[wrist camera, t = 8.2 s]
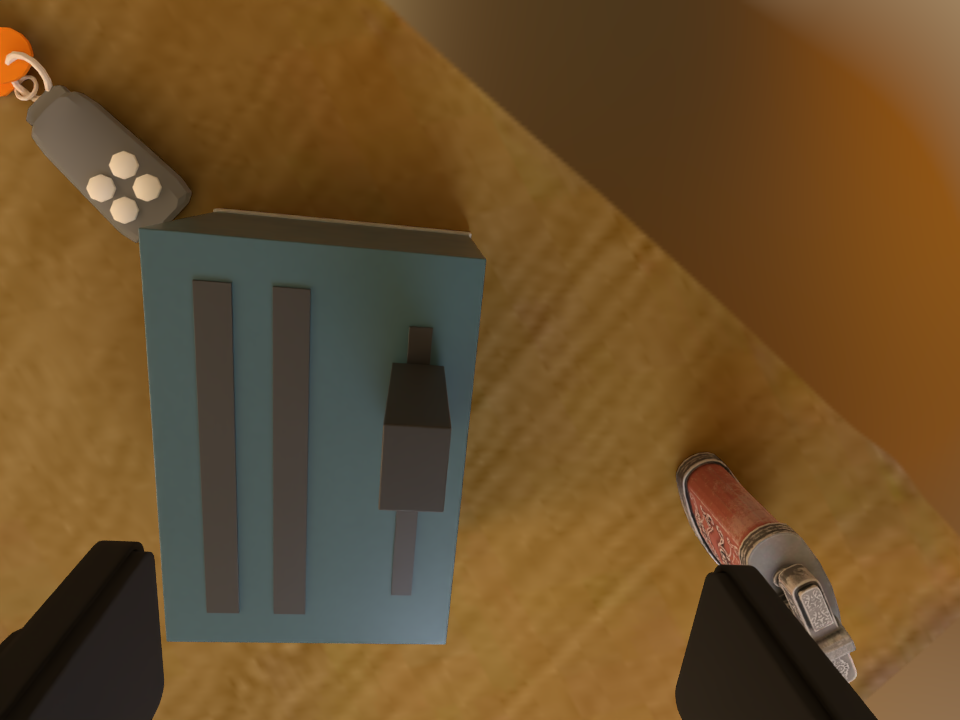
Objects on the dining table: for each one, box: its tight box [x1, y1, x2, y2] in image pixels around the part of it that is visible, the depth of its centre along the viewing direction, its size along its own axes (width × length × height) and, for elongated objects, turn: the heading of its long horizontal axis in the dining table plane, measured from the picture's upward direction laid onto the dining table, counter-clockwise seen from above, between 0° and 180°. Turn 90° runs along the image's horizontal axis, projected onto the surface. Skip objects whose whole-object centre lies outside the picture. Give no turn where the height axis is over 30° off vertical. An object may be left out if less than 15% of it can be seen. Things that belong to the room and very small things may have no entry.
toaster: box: [138, 208, 486, 644], centre depth 25 cm, size 11×16×8 cm
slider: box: [378, 363, 452, 513], centre depth 18 cm, size 2×3×5 cm
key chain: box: [0, 27, 192, 243], centre depth 23 cm, size 13×4×2 cm, turn 40°
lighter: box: [676, 452, 857, 683], centre depth 29 cm, size 8×3×10 cm, turn 28°
